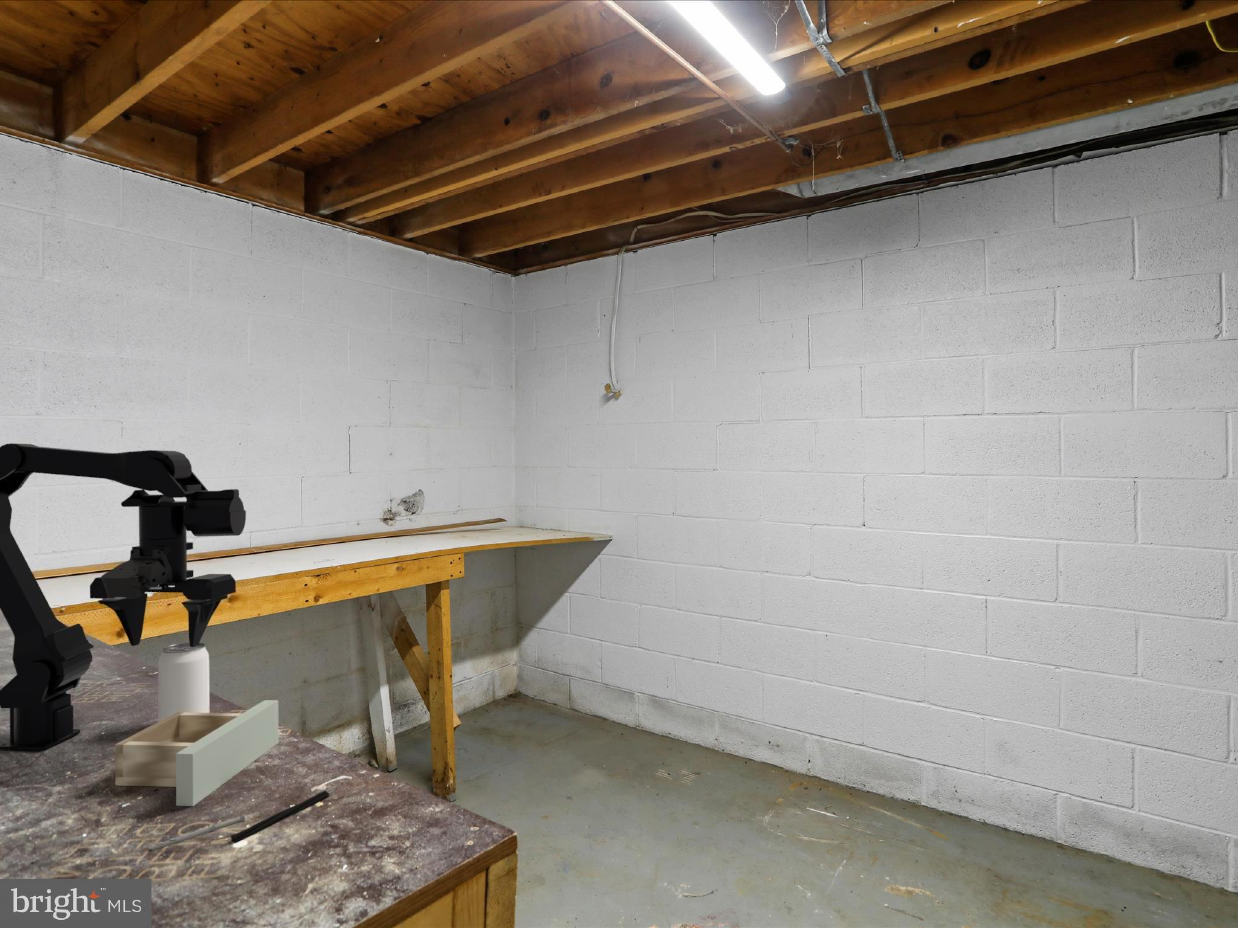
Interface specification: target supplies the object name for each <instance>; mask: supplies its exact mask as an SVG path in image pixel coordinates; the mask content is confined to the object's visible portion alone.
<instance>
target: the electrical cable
mask: <svg viewBox="0 0 1238 928" xmlns="http://www.w3.org/2000/svg"><path fill="white" fill-rule="evenodd" d="M334 792H335V789H333V788H329V789H327V790H323V791H321V792H319V793H317V794H315V795H313V796H311V797H309V798H308V799H306V800H304V801H302V802H300V803H297V804H295V805H292V806H290V807H288V808H286V809H284V810H282V811H279V812H277V813H275V814H274V815H271V816H269V817H267V818H265V819H263V820H261V821H259V822H257V823H255V824H254V825H251V826H250V827H248V828H246V829H243V830H242V831H241V830H240V831H238V832H236V833H234V834H232V835H231V836H230V839H231V842H233V843H235V844H237V843H239V842H241V841H243V840H245V839H247V838H249V837H251V836H252V835H255V834H256V833H259V832H260V831H262V830H264V829H265V828H267V827H270V826H272V825H273V824H277V823H279V822H280V821H283V820H285V819H287V818H290V817H291V816H293V815H296V814H298V813H300V812H302V811H304V810H306V809H307V808H309V807H312V806H313V805H315V804H316V803H319V802H320V801H322V800H326V799H327V798H328V797H330V796H332V795H334V794H335V793H334Z"/></svg>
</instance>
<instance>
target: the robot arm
mask: <svg viewBox="0 0 1238 928" xmlns="http://www.w3.org/2000/svg"><path fill="white" fill-rule="evenodd" d="M34 473H35V474H45V475H46V474H47V475H58V476H60V475H61V476H69V477H70V476H71V477H81V478H94V479H105V480H109V481H113V482H116V483H119V484H121V485H124V486H127V487H131V488H135V489H134V490H133V491H132V494H131V495H129V497H127V498H125V500H123V501H121V503H120V505H121V507H124V508H129V507H130V508H132V507H133V508H135V507H136V508H137V507H138V544H139V545H136V546H131V550H130V558H129V559H128V560H127V561H124V562H122V563H120V564H118V565H117V566H115V567H113V568H112V569H110V570H108V571H107V572H105V573H103V574H102V575H101V576H100V577H98V576H97V577H95V578H94V579H93V581H92V582H91V583H90V585H89V599H99V600H97V602H98V603H99V604H100V605H103V606H106V607H108V608H109V609H110V610H112V611H113V612H114V613H115V614H116V617H117V618H118V620H119V622H120V625H122V626H121V627H122V628H123V630H124V633H125V635H126V638H127V639H128V641H129V643H130V645H131V646H132V647H135V646H139V645H140V642H141V640H142V635H143V629H144V623H145V615H146V614H145V613H146V609H147V601H148V593H174V594H175V593H176V594H177V593H178V594H179V593H180V594H182V595H183V596H184V597H185V598H186V599H187V600H185V601H181V604H182V605H183V607H184V609H185V610H186V611H187V615H188V616H187V618H188V623H187V625H188V643H190V647H196V646H197V645H198V644H199V642H200V643H201V640H202V637H203V636H204V634H205V631H206V629H207V627H208V625H209V624H210V623H209V622H210V621H211V619H212V617H213V615H214V614H215V612H216V610H217V609H218V607H219V605H220V603H221V602H222V601H223V600H227V599H228V598H229V596H228V595H232V594H235V593H236V592H237V584H236V583H237V581H236V579H235V578H234V576H233V575H232V574H231V573H207V574H203V575H198V576H195V577H194V569H188V553H187V552H188V551H190V550H194V542H191V541H189V542H188V540H187V536H188V535H187V532H190V533H191V534H192V535H193V536H194V537H199V538H200V537H201V538H202V537H230V536H231V537H233V536H234V537H236V536H238V537H239V536H240V535H242V533H243V532H244V529H245V526H246V519H247V513H246V512H247V511H246V509H245V507H244V502H243V501H242V499H241V497H240V490H239V489H238V488H234V489H233V488H230V489H222V490H208V489H207V488H206V486H205V485H204V484H203V483H202V481H201V480H200V479H199V478H198V477H197V476H196V474H195V473H194V472H193V469H192V463H191V462H190V460H189V459H188V457H187V456H186V455H185V454H183V453H182V452H181V451H177V450H155V449H153V450H152V449H150V450H149V449H148V450H137V451H136V450H135V451H123V452H113V453H112V452H102V451H93V450H92V451H91V450H82V449H81V450H80V449H79V450H78V449H69V448H68V449H67V448H59V447H56V448H55V447H45V446H39V445H35V444H32V443H13V442H11V443H5V444H3V445H1V446H0V612H1V613H2V615H3V617H4V619H5V621H6V623H7V625H8V627H9V629H10V630H11V632H12V634H13V639H14V640H13V647H12V648H13V649H12V662H13V663H12V664H13V666H14V670H15V672H16V675H15V676H14V677H13V678H11V679H10V680H9V681H8V682H7V683H6V684H5V685H4V686H3V687H2V688H1V689H0V708H1V709H4V710H5V709H9V741H7V742H3V743H2V744H0V750H4V751H5V750H12V751H15V750H17V751H42V750H46V749H48V748H51V747H53V746H56V745H57V744H59V743H61V742H64V741H65V740H68V739H70V738H73V737H74V736H76V735H78V734H80V733H81V729H80V728H74V705H73V704H72V694H71V693H67V692H68V691H70V690H72V689H75V688H77V687H78V685H79V683H80V682H81V681H80V680H81V678H82V676H83V675H85V674H86V672H88V671H89V669H90V666H91V663H93V654H92V651H91V650H92V649H93V648H94V645H93V644H92V643H91V642H89V640H88V638H87V637H86V635H85V631H84V627H83V626H82V625H81V624H80V623H76V624H73V625H70V626H68V625H66V624H64V623H63V622H61V621H60V620H58V618H57V617H56V615H55V613H54V611H53V609H52V607H51V606H50V604H49V603H48V600H47V599H46V596H45V594H44V592H43V590H42V589H41V586H40V585H39V583H38V581H37V579H36V578H35V576H34V574H33V572H32V570H31V568H30V565H29V564H28V561H27V560H26V558H25V556H24V554H23V553H22V551H21V548H20V546H19V544H18V543H17V541H16V539H15V537H14V535H13V533H12V531H11V521H12V514H13V513H12V512H13V507H12V505H11V501H10V497H11V496H12V495H14V494H15V493H16V492H18V491H19V490H20V489H21V488H22V487H23V486H24V485H25V483H26V482H27V480H28V479H29V478H30V476H31V475H32V474H34ZM147 491H148V492H158V493H160V494H150V493H148V492H147ZM178 498H179V499H181V498H182V499H183V498H185V499H186V500H185V501H184V500H183V501H182V500H180V501H179V500H175V499H178Z"/></svg>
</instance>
